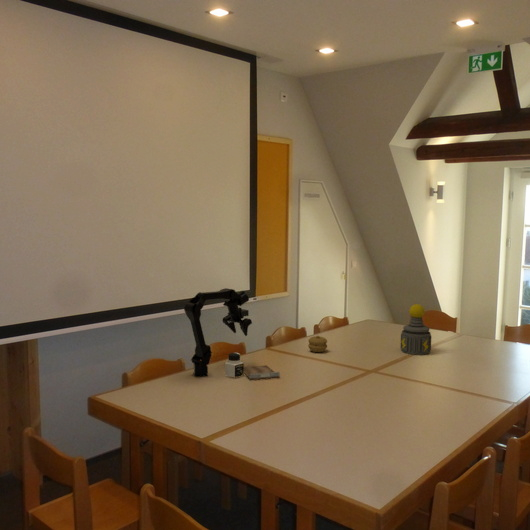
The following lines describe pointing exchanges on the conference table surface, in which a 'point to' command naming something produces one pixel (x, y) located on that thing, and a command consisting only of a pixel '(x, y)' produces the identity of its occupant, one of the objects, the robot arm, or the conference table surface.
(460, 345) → the conference table surface
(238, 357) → the medicine bottle
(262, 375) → the price rail
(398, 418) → the conference table surface
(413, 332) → the decorative lamp
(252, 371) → the shelf board
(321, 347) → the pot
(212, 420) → the conference table surface
